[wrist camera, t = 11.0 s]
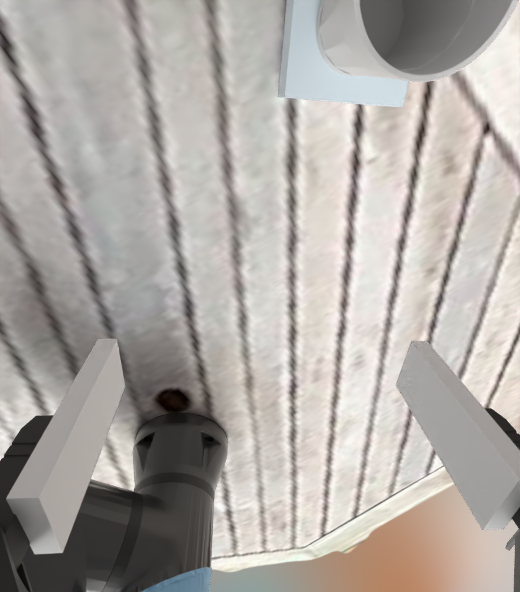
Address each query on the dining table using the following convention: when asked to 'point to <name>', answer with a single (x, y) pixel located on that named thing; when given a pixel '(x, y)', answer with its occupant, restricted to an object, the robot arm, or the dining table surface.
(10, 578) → the robot arm
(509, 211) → the dining table surface
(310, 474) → the dining table surface
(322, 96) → the pedestal block
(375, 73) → the cup
